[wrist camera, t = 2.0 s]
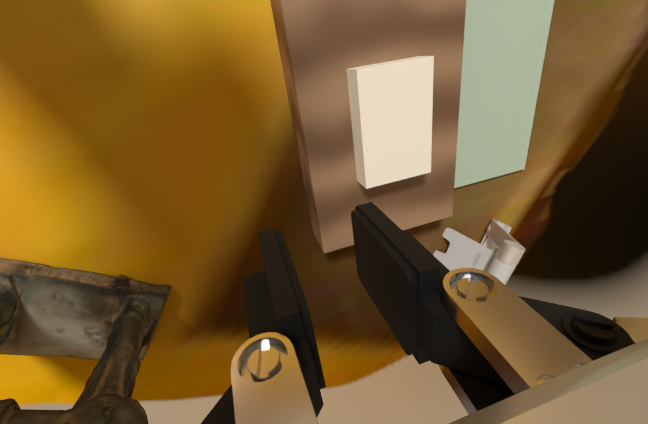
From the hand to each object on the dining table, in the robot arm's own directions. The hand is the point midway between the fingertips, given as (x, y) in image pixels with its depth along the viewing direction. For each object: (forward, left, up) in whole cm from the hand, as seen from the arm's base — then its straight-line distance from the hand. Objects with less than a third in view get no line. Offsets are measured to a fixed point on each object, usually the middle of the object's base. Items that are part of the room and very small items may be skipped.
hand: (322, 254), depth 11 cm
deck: (0, +10, -19) cm, 22 cm away
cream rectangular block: (0, +10, -15) cm, 18 cm away
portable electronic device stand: (+19, +22, -19) cm, 35 cm away
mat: (0, +24, -19) cm, 30 cm away
